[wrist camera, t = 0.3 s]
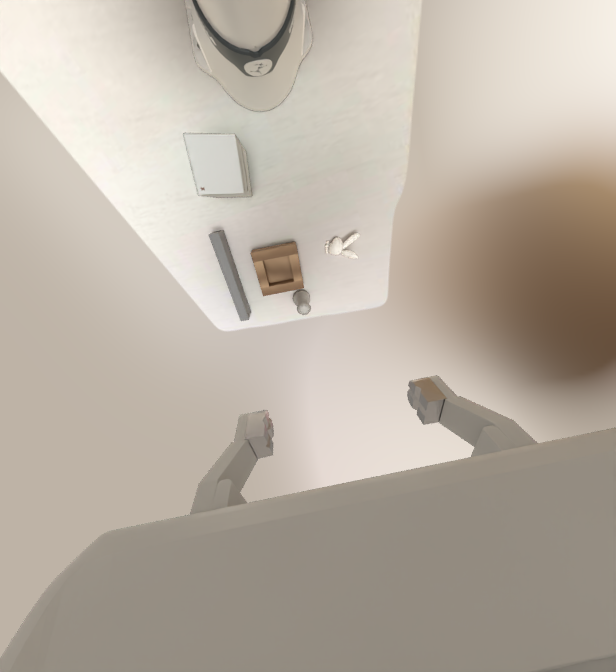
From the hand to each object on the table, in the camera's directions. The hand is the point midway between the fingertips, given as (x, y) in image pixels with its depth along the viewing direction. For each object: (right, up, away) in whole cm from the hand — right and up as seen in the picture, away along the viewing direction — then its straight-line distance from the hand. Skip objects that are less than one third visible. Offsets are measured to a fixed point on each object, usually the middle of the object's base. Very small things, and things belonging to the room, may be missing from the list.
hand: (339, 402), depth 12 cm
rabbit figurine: (+6, +26, +39) cm, 47 cm away
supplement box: (-17, +35, +30) cm, 50 cm away
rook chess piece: (-4, +14, +45) cm, 47 cm away
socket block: (-9, +20, +40) cm, 46 cm away
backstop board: (-20, +18, +40) cm, 48 cm away
